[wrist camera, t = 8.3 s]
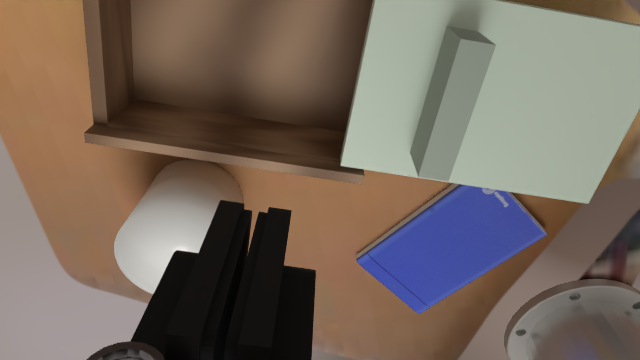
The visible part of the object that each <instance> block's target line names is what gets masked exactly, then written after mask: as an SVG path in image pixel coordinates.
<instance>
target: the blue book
mask: <svg viewBox="0 0 640 360" xmlns="http://www.w3.org/2000/svg"><path fill="white" fill-rule="evenodd" d="M546 235H547V233H546V231H545V230H544V228H543V227H542V226H541V225H540V224H539V223H538V222H537V220H536V219H535V218H534V217H533V216H532V215H531V214H530V213H529V212H528V211H527V209H526V208H525V207H524V206H523V205H522V204H521V203H520V202H519V201H518V200H517V198H516V197H515V196H514V195H513V194H512V193H511V192H508V191H501V190H495V189H488V188H482V187H475V186H469V185H462V184H456V183H453V184H452V185H450V186H449V187H448V188H446V189H445V190H444V191H442V192H441V193H439V194H438V195H437V196H435V197H434V198H433V199H431V200H430V201H429V202H427V203H426V204H425V205H423V206H422V207H420V208H419V209H418V210H416V211H415V212H414V213H412V214H411V215H410V216H408V217H407V218H406V219H404V220H403V221H401V222H400V223H399V224H397V225H396V226H395V227H393V228H392V229H391V230H389V231H388V232H387V233H385V234H384V235H383V236H381V237H380V238H378V239H377V240H376V241H374V242H373V243H372V244H370V245H369V246H368V247H366V248H365V249H363V250H362V251H361V252H359V253H358V254H357V255H356V260H357V262H358V263H359V264H360V265H361V266H362V267H363V268H364V269H365V270H366V271H368V272H369V273H370V274H371V275H372V276H374V277H375V278H376V279H377V280H378V281H380V282H381V283H382V284H383V285H384V286H386V287H387V288H388V289H389V290H390V291H392V292H393V293H394V294H395V295H396V296H398V297H399V298H400V299H401V300H402V301H404V302H405V303H406V304H407V305H408V306H409V307H411V308H412V309H413V310H414V311H416V312H417V313H419V314H420V313H422V312H424V311H425V310H427V309H429V308H430V307H431V306H433V305H434V304H436V303H438V302H439V301H441V300H443V299H444V298H446V297H447V296H449V295H451V294H452V293H454V292H455V291H457V290H459V289H460V288H462V287H463V286H465V285H467V284H468V283H470V282H472V281H473V280H475V279H477V278H478V277H480V276H481V275H483V274H485V273H486V272H488V271H490V270H491V269H493V268H494V267H496V266H498V265H499V264H501V263H502V262H504V261H506V260H507V259H509V258H511V257H512V256H514V255H515V254H517V253H519V252H520V251H522V250H523V249H525V248H527V247H528V246H530V245H532V244H533V243H535V242H536V241H538V240H540V239H541V238H543V237H544V236H546Z"/></svg>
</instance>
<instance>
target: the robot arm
mask: <svg viewBox="0 0 640 360" xmlns="http://www.w3.org/2000/svg"><path fill="white" fill-rule="evenodd" d="M290 218H291V210H285V209H278V208H272V207H269V209H268V213H264V212H259V214H258V217H257V221H256V225H255V229H254V233H253V237H252V240H251V244H250V248H249V252H248V246H249V237H250V228H251V219H252V211H251V210H244V203H239V202H232V201H226V200H220V202H219V204H218V207H217V209H216V211H215V214H214V216H213V219H212V221H211V224H210V226H209V228H208V231H207V233H206V236H205V238H204V241H203V243H202V245H201V248H200V250H199V253H194V252H187V251H181V250H176V251H175V252H174V254H173V255H172V257H171V259H170V261H169V263H168V265H167V267H166V269H165V271H164V273H163V276H162V278H161V280H160V282H159V284H158V286H157V288H156V290H155V292H154V294H153V296H152V298H151V300H150V302H149V304H148V306H147V309H146V311H145V313H144V315H143V317H142V319H141V321H140V323H139V325H138V327H137V329H136V331H135V333H134V335H133V337H132V339H131V341H129V342H121V343H116V344H113V345H110V346H107V347H104V348H103V349H101V350H99V351H97V352H96V353H94V354H93V355H91V356H90V357H89V358H88V359H87V360H311V356H312V337H313V317H314V298H315V278H316V271H315V270H311V269H304V268H298V267H291V266H284V259H285V252H286V245H287V238H288V232H289V225H290ZM247 255H248V256H247ZM504 337H505V338H504V345H505V349H506V353H507V355H508V357H509V359H510V360H640V292H639V291H638V290H637V289H635V288H633V287H631V286H630V285H627V284H624V283H621V282H618V281H614V280H607V279H585V280H578V281H572V282H568V283H565V284H561V285H558V286H555V287H553V288H550V289H548V290H546V291H543V292H542V293H540V294H538V295H537V296H535V297H534V298H532V299H530V300H529V301H528V302H527V303H526V304H525V305H523V306H522V307H521V308H520V309H519V310H518V311H517V312H516V313H515V315H514V316H513V317H512V319H511V321H510V322H509V324H508V326H507V329H506V332H505V336H504Z"/></svg>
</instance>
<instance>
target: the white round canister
mask: <svg viewBox="0 0 640 360" xmlns="http://www.w3.org/2000/svg"><path fill="white" fill-rule="evenodd" d="M220 200H226V201H232V202H239V203H243V195H242V192H241V190H240V187H239V185H238V184H237V182H236V181H235V180H234V178H233V177H232V176H231V175H230V174H229V173H228V172H226V171H225V170H224V169H222V168H220V167H219V166H217V165H215V164H213V163H210V162H207V161H203V160H196V159H186V160H180V161H176V162H174V163H171V164H169V165H168V166H166V167H165V168H163V169H162V170H161V171H160V172H159V173H158V175H157V176H156V178H155V179H154V181H153V182H152V183H151V185H150V186H149V188H148V189H147V191H146V192H145V194H144V195H143V197H142V198H141V200H140V201H139V203H138V204H137V205H136V207H135V208H134V210H133V211H132V213H131V214H130V216H129V217H128V219H127V220H126V222H125V223H124V225H123V226H122V227H121V229H120V231H119V232H118V234H117V236H116V239H115V243H114V253H115V258H116V261H117V263H118V265H119V267H120V269H121V270H122V272H123V273H124V274H125V275H126V277H127V278H128V279H129V280H131V281H132V282H133V283H134V284H135V285H137V286H138V287H140V288H141V289H143V290H145V291H147V292H149V293H151V294H154V292H155V290H156V288H157V286H158V284H159V282H160V280H161V278H162V276H163V273H164V271H165V269H166V267H167V265H168V263H169V261H170V259H171V257H172V255H173V254H174V252H175V251H176V250H181V251H187V252H194V253H199V250H200V248H201V245H202V243H203V241H204V238H205V236H206V233H207V231H208V228H209V226H210V224H211V221H212V219H213V216H214V214H215V211H216V209H217V207H218V204H219V202H220Z"/></svg>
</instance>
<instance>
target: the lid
mask: <svg viewBox="0 0 640 360" xmlns="http://www.w3.org/2000/svg"><path fill="white" fill-rule="evenodd" d="M639 109H640V25H639V24H633V23H628V22H622V21H617V20H611V19H606V18H600V17H595V16H589V15H583V14H578V13H572V12H567V11H561V10H556V9H550V8H545V7H539V6H534V5H528V4H522V3H517V2H511V1H506V0H373V2H372V7H371V12H370V17H369V21H368V26H367V31H366V36H365V41H364V46H363V50H362V55H361V60H360V65H359V70H358V75H357V79H356V84H355V89H354V94H353V99H352V104H351V108H350V113H349V118H348V123H347V128H346V133H345V137H344V142H343V147H342V152H341V157H340V164H341V166H345V167H351V168H358V169H364V170H371V171H377V172H384V173H390V174H397V175H404V176H410V177H417V178H423V179H430V180H436V181H443V182H449V183H456V184H462V185H469V186H475V187H482V188H488V189H495V190H501V191H508V192H514V193H521V194H527V195H534V196H540V197H547V198H553V199H560V200H566V201H573V202H579V203H586V204H588V203H589V202H590V200H591V198H592V196H593V194H594V192H595V190H596V189H597V187H598V185H599V183H600V181H601V179H602V177H603V176H604V174H605V172H606V170H607V168H608V166H609V165H610V163H611V161H612V159H613V157H614V155H615V153H616V152H617V150H618V148H619V146H620V144H621V142H622V140H623V139H624V137H625V135H626V133H627V131H628V129H629V127H630V126H631V124H632V122H633V120H634V118H635V116H636V115H637V113H638V111H639Z"/></svg>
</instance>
